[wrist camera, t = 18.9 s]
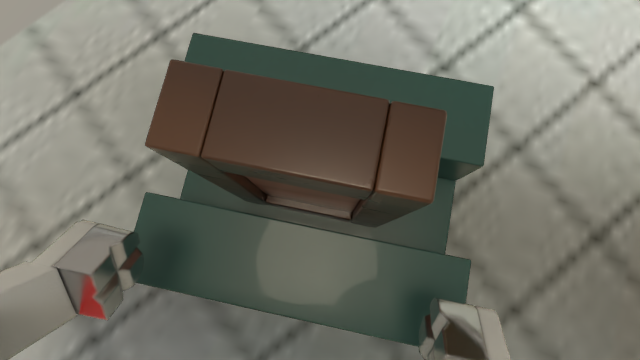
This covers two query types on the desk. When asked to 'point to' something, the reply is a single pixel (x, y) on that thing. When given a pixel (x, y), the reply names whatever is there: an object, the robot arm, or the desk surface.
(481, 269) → the desk surface
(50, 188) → the desk surface
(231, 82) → the frame
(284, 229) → the holder
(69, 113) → the desk surface
